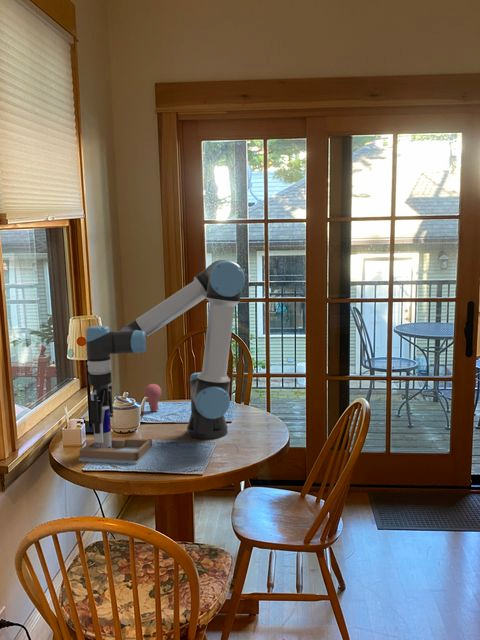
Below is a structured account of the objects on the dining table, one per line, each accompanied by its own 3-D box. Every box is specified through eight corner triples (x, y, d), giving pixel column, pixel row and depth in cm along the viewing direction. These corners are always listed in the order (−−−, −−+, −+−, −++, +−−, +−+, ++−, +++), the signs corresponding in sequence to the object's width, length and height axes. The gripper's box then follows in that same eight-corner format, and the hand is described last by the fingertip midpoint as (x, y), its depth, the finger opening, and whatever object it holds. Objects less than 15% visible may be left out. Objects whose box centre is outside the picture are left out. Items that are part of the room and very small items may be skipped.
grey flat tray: (153, 447, 200) (152, 438, 199) (136, 464, 184) (135, 454, 184) (99, 444, 204) (99, 435, 203) (78, 461, 188) (78, 451, 188)
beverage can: (107, 453, 191) (105, 409, 190) (92, 452, 192) (89, 409, 191) (114, 447, 197) (112, 405, 195) (99, 446, 198) (97, 404, 196)
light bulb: (143, 413, 242) (141, 385, 240) (148, 408, 249) (147, 381, 247) (159, 414, 240) (158, 386, 239) (164, 409, 247) (163, 382, 246)
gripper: (100, 366, 201) (104, 430, 204) (76, 378, 183) (80, 448, 186) (121, 366, 200) (124, 431, 202) (98, 378, 182) (101, 449, 184)
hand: (103, 439), depth 194 cm, fingers closed on beverage can, 5 cm apart
